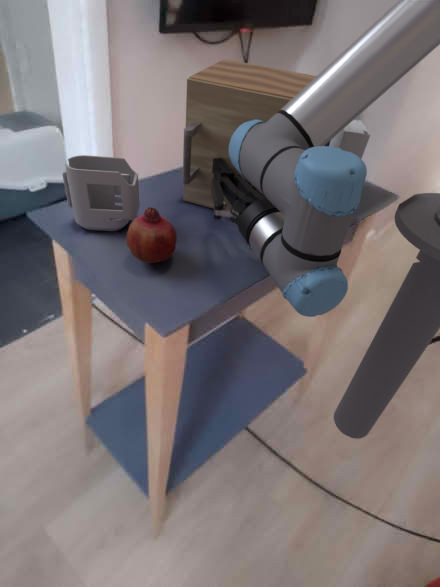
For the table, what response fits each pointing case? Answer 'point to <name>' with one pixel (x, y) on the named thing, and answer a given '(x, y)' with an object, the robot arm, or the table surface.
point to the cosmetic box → (352, 138)
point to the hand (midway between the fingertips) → (216, 165)
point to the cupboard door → (217, 130)
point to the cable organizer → (101, 191)
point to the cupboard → (255, 78)
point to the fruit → (151, 237)
